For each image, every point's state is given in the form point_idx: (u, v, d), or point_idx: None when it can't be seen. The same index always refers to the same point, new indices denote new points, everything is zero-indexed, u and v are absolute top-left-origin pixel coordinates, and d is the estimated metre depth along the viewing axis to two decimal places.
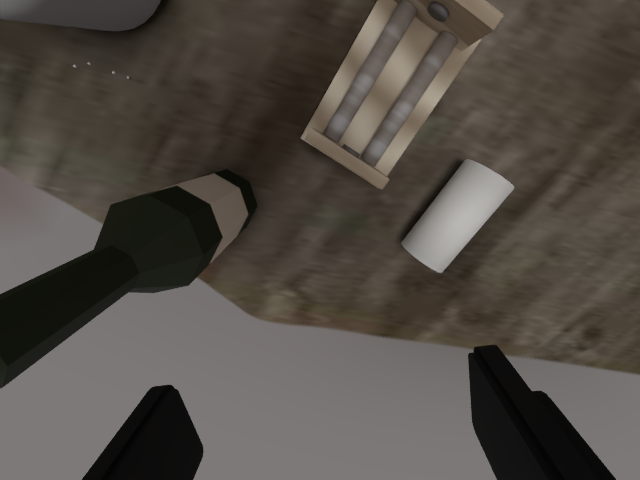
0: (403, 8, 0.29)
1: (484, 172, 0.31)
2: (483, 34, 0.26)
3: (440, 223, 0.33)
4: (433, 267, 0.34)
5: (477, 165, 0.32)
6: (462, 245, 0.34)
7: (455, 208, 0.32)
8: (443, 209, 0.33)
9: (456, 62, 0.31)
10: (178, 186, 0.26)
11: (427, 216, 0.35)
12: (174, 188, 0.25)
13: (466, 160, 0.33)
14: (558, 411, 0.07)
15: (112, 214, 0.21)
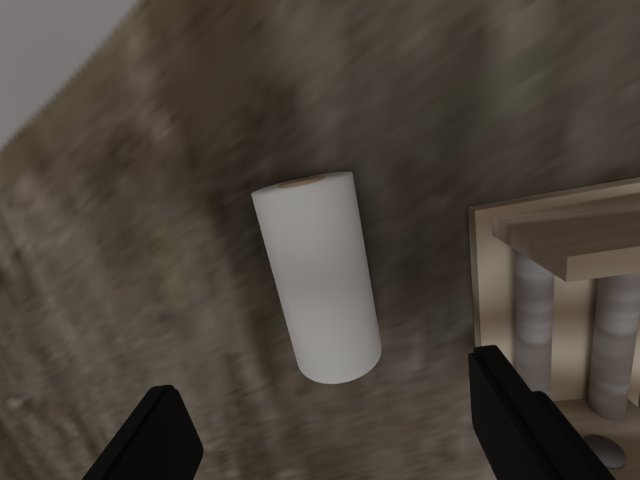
0: (623, 411, 0.21)
1: (346, 374, 0.18)
2: None
3: (328, 274, 0.16)
4: (265, 200, 0.16)
5: (362, 371, 0.18)
6: (270, 261, 0.18)
7: (331, 311, 0.17)
8: (344, 292, 0.17)
9: None
10: None
11: (356, 259, 0.17)
12: None
13: (379, 353, 0.20)
14: (559, 411, 0.07)
15: None
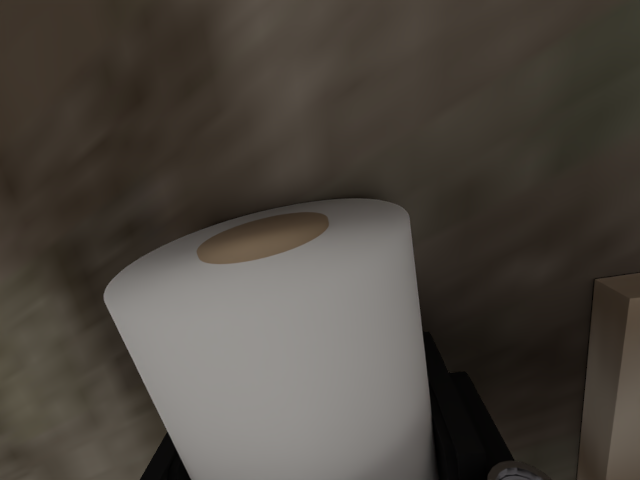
0: None
1: None
2: None
3: None
4: (177, 333, 0.04)
5: None
6: None
7: None
8: None
9: None
10: None
11: None
12: None
13: None
14: (473, 388, 0.08)
15: None
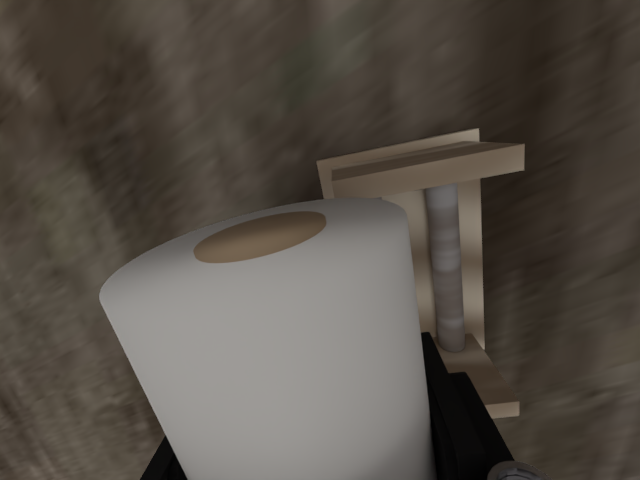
0: (460, 343, 0.23)
1: None
2: None
3: None
4: (173, 333, 0.04)
5: None
6: None
7: None
8: None
9: None
10: None
11: (428, 410, 0.07)
12: None
13: None
14: (474, 387, 0.08)
15: None
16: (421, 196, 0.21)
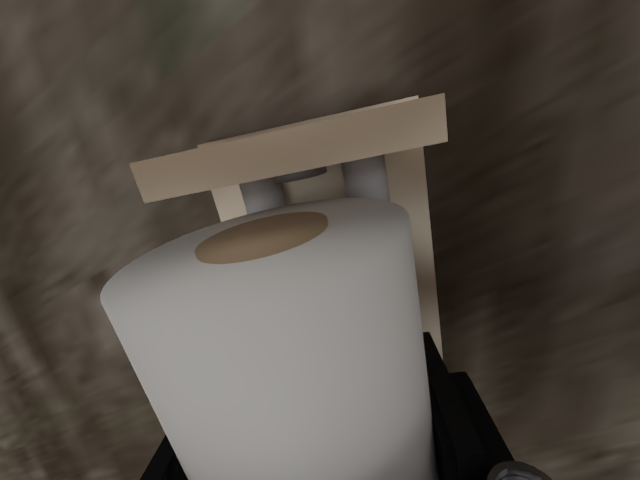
0: None
1: None
2: None
3: None
4: (174, 335, 0.04)
5: None
6: None
7: None
8: None
9: None
10: None
11: None
12: None
13: None
14: (473, 388, 0.08)
15: None
16: (345, 193, 0.15)
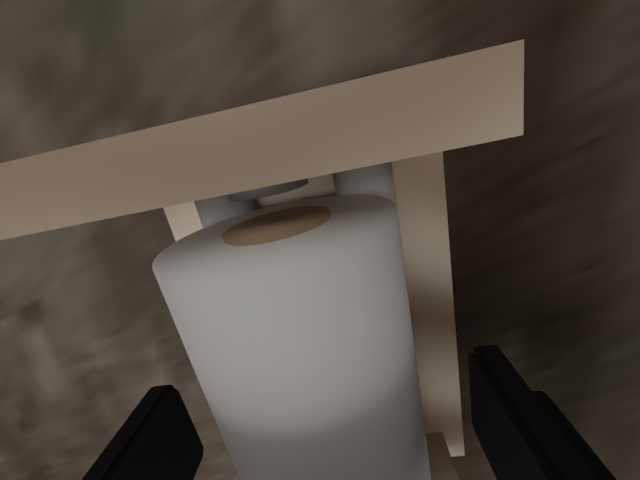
0: None
1: None
2: None
3: (377, 447, 0.07)
4: (202, 293, 0.05)
5: None
6: (218, 423, 0.07)
7: None
8: (405, 469, 0.07)
9: None
10: None
11: (416, 383, 0.08)
12: None
13: None
14: (558, 411, 0.07)
15: None
16: None
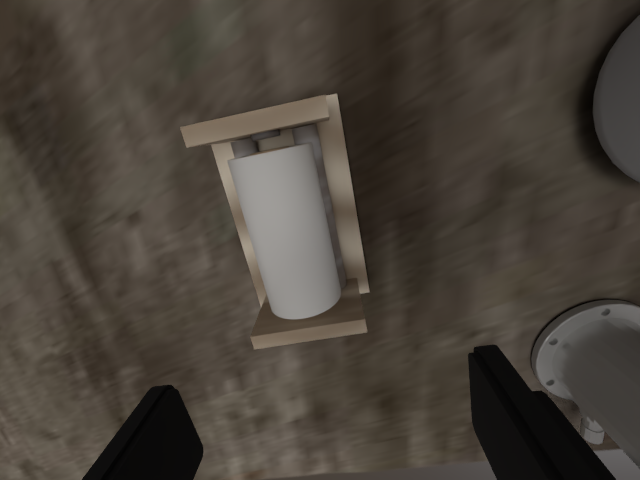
0: None
1: (320, 306, 0.22)
2: (256, 324, 0.25)
3: (303, 220, 0.20)
4: (249, 161, 0.19)
5: (331, 303, 0.23)
6: (249, 219, 0.21)
7: (307, 252, 0.21)
8: (316, 236, 0.21)
9: (261, 283, 0.29)
10: None
11: (321, 209, 0.21)
12: None
13: (340, 290, 0.25)
14: (558, 412, 0.07)
15: None
16: None
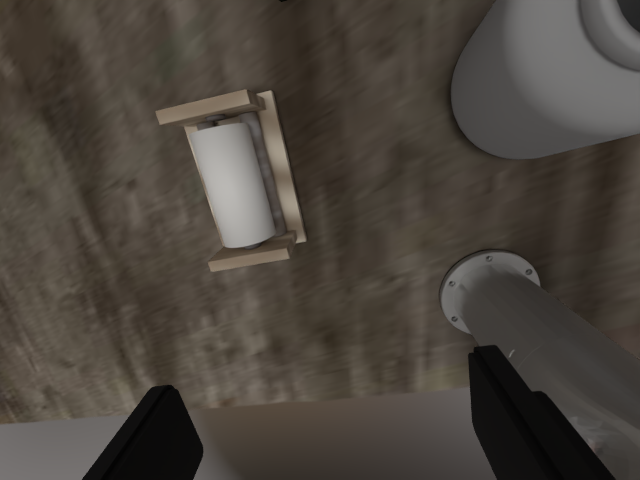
0: (278, 230, 0.36)
1: (255, 238, 0.32)
2: (214, 256, 0.34)
3: (239, 175, 0.30)
4: (199, 133, 0.28)
5: (264, 237, 0.32)
6: (203, 174, 0.30)
7: (242, 197, 0.30)
8: (249, 187, 0.31)
9: None
10: None
11: (254, 169, 0.31)
12: None
13: (274, 232, 0.34)
14: (559, 411, 0.07)
15: None
16: None
